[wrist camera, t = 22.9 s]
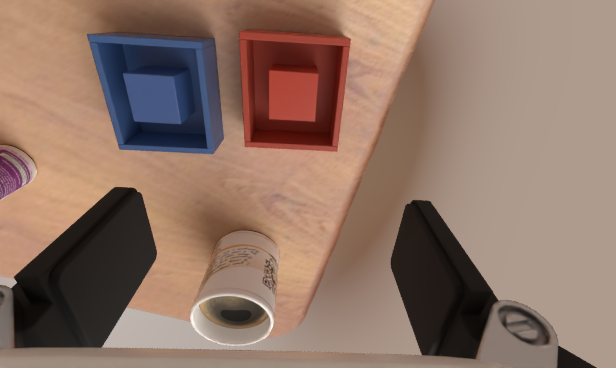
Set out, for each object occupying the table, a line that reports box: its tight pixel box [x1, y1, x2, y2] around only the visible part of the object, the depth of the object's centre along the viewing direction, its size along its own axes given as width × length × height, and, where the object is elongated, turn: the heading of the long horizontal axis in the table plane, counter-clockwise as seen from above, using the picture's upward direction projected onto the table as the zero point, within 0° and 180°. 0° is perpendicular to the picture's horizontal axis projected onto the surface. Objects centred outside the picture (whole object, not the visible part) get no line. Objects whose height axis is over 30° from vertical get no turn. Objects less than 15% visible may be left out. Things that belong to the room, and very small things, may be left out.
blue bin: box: [87, 32, 224, 154], centre depth 30 cm, size 11×10×4 cm
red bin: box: [239, 30, 351, 151], centre depth 30 cm, size 11×10×4 cm
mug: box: [190, 231, 280, 346], centre depth 39 cm, size 10×12×11 cm
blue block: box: [123, 66, 195, 124], centre depth 29 cm, size 4×4×4 cm
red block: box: [269, 64, 319, 122], centre depth 29 cm, size 4×4×4 cm
